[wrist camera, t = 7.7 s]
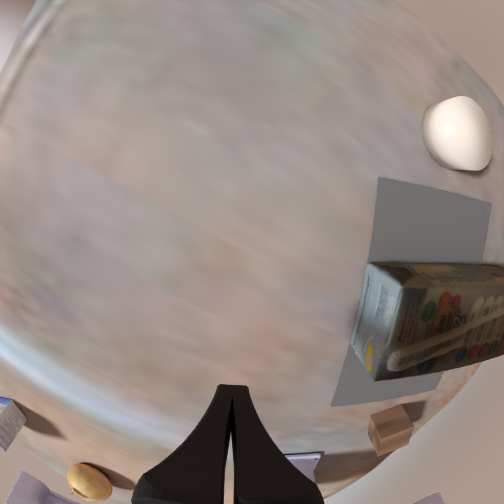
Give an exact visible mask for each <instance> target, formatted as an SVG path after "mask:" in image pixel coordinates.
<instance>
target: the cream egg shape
mask: <svg viewBox="0 0 504 504" xmlns="http://www.w3.org/2000/svg"><path fill="white" fill-rule="evenodd" d="M422 135H423V139H424V143H425V146H426V148H427V150H428V152H429V154H430V155H431V157H432V158H433V159H434V161H435V162H436V163H437V164H439V165H440V166H442V167H444V168H446V169H456V170H474V171H478V170H481V169H483V168H485V167H486V166H487V164H488V163H489V161H490V159H491V156H492V152H493V136H492V131H491V127H490V124H489V121H488V119H487V117H486V115H485V113H484V112H483V110H482V109H481V108H480V106H479V105H478V104H477V103H476V102H475V101H473V100H472V99H470V98H468V97H465V96H458V97H455V98H451V99H448V100H444V101H441V102H437V103H434V104H432V105H430V106H429V107H428V108H427V109H426V111H425V113H424V115H423V119H422Z"/></svg>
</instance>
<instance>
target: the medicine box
mask: <svg viewBox="0 0 504 504" xmlns="http://www.w3.org/2000/svg"><path fill="white" fill-rule="evenodd" d="M26 420H27V418H26V417H25V416H24V414H23V413H22V412H21V410H20V409H19V408H18V406H17V405H16V404H15V402H14V401H13V399H8V398H2V397H0V449H1V450H3V451H7V449H8V448H9V446H10V445H11V443H12V442H13V440H14V439H15V437H16V435H17V434H18V432H19V431H20V429H21V428H22V426H23V425H24V423H25V422H26Z"/></svg>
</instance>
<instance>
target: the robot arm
mask: <svg viewBox="0 0 504 504" xmlns="http://www.w3.org/2000/svg"><path fill="white" fill-rule="evenodd" d="M230 435H231V436H232V449H233V461H234V504H324V500H323V497H322V494H321V492H320V490H319V488H318V486H317V485H316V482H315V478H314V473H313V472H314V469H315V467H316V465H317V463H318V461H319V459H320V457H321V455H320V453H312V454H299V455H284V454H283V453H282V452H281V451H280V450H279V448H278V447H277V446H276V445H275V443H274V442H273V440H272V439H271V437H270V436H269V434H268V433H267V431H266V430H265V428H264V426H263V424H262V423H261V421H260V419H259V417H258V415H257V412H256V410H255V408H254V405H253V403H252V400H251V397H250V394H249V389H248V387H247V386H244V385H225V384H220V385H218V386H217V390H216V393H215V395H214V397H213V400H212V402H211V404H210V405H209V407H208V409H207V411H206V413H205V414H204V416H203V417H202V419H201V420H200V422H199V423H198V425H197V426H196V428H195V429H194V430H193V431H192V433H191V434H190V435H189V436H188V437H187V439H186V440H185V441H184V442H183V443H182V444H181V445H180V446H179V447H178V448H177V449H176V450H175V451H174V452H173V453H172V454H170V455H169V456H168V457H167V458H166V459H164V460H163V461H162V462H161V463H159V464H158V465H156V466H155V467H153V468H152V469H150V470H149V471H147V472H146V473H144V474H143V475H142V476H141V478H140V479H139V481H138V483H137V485H136V487H135V489H134V492H133V496H132V500H131V502H132V504H224V481H225V467H226V460H227V454H228V448H229V441H230ZM5 504H79V503H77V502H74V501H72V500H70V499H68V498H65V497H63V496H61V495H59V494H57V493H55V492H53V491H51V490H49V488H48V487H47V486H46V485H45V484H44V483H43V482H41V481H40V480H38V479H36V478H34V477H33V476H31V475H29V474H28V473H26V472H24V471H21V473H20V475H19V476H18V478H17V480H16V482H15V484H14V486H13V488H12V489H11V491H10V493H9V495H8V497H7V499H6V501H5ZM414 504H445V503H444V501H443V499H442V497H441V495H440V493H435V494H433V495H431V496H428V497H426V498H424V499H421V500H419V501H417V502H416V503H414Z"/></svg>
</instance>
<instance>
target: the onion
mask: <svg viewBox="0 0 504 504" xmlns="http://www.w3.org/2000/svg"><path fill="white" fill-rule="evenodd" d="M67 478H68V482H69V485H70V486H71V490H72V491H73V493H74V494H76V495H78V496H80V497H81V498H84V499H85V500H87V501H92V502H97V501H103V500H106V499H108V498H109V497H110V495H111V493H112V485H111V482H110V480H109V478H108V477H106V476H105V475H104V474H102V473H101V472H100V471H99V470H98V469H96V468H95V469H94V468H93V467H91V466H89V465H86V464H75V465H72V466H71V467H70V468H69V470H68V473H67ZM73 493H71V494H73Z"/></svg>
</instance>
